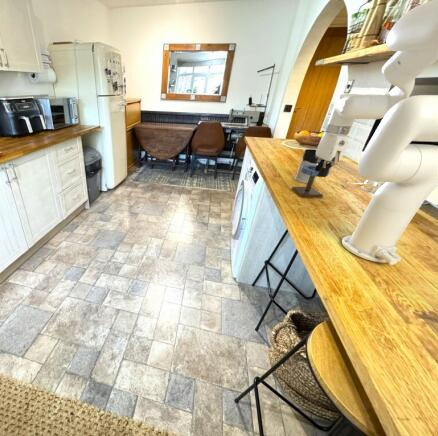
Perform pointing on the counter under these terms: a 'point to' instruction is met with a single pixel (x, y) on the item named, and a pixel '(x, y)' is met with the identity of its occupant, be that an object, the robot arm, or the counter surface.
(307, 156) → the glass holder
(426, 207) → the counter surface
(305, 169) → the ring
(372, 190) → the wineglass
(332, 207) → the counter surface
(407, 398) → the counter surface
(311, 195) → the stand
